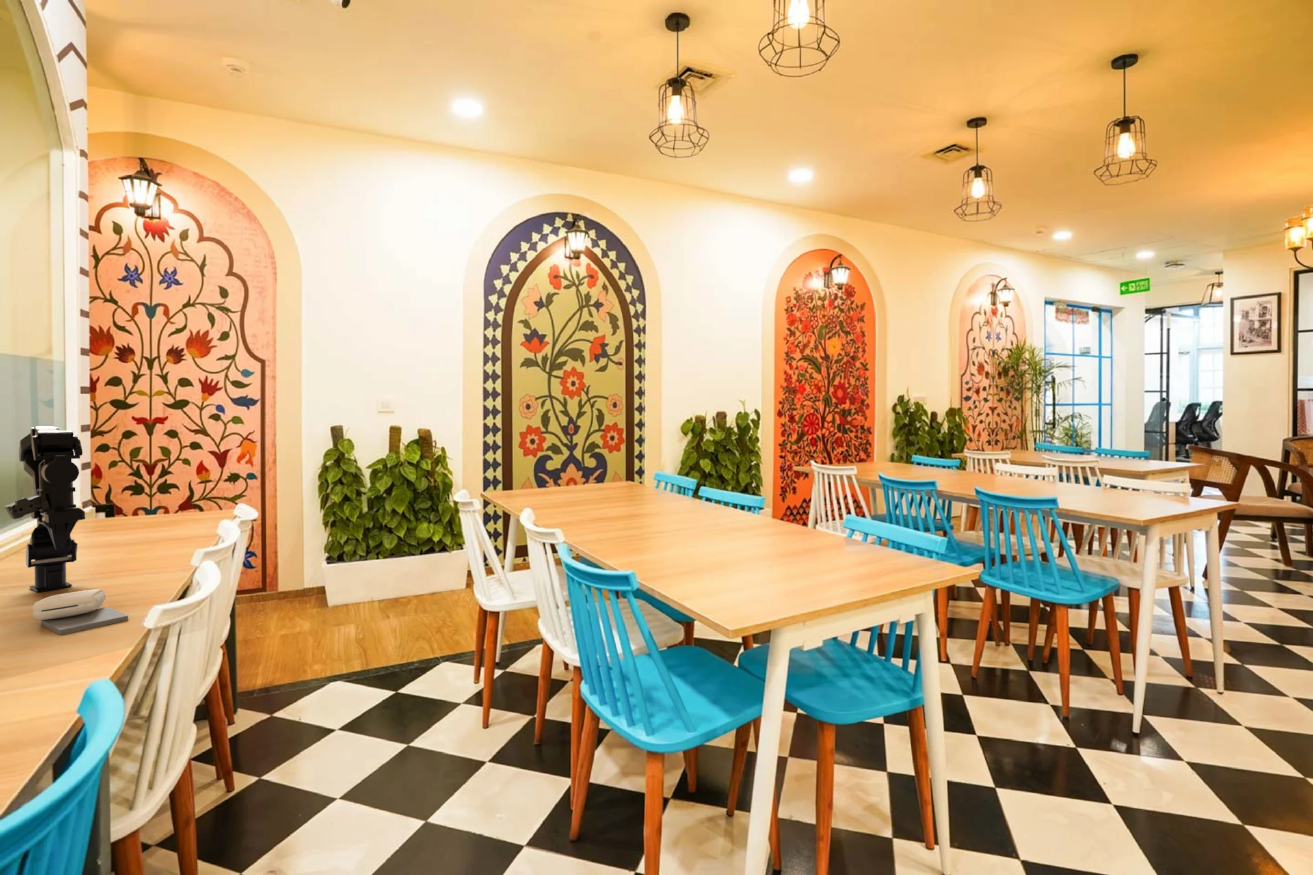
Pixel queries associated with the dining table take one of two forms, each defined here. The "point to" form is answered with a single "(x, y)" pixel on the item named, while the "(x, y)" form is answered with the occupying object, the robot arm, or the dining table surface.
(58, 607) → the photo printer
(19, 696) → the dining table surface
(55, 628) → the board
